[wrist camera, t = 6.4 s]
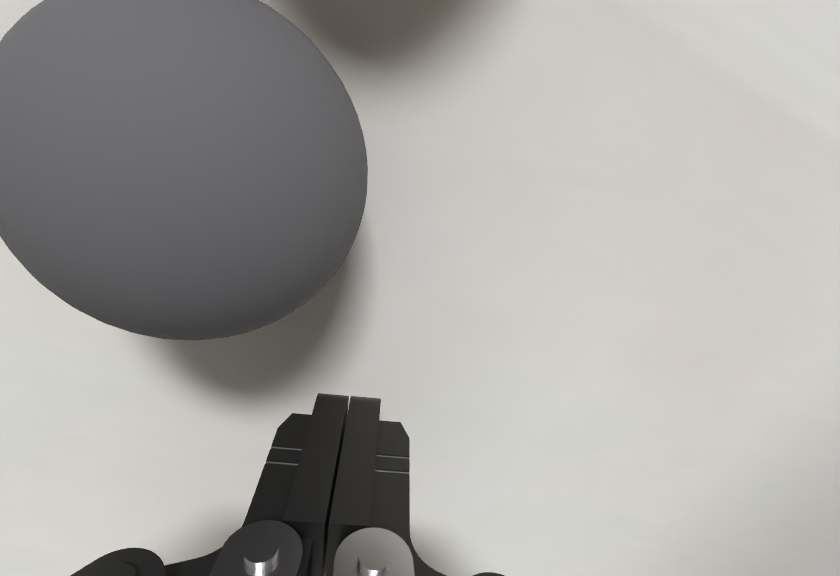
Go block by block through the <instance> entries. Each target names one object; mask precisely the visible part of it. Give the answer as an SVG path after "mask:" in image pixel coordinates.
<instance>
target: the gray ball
mask: <svg viewBox="0 0 840 576" xmlns="http://www.w3.org/2000/svg"><path fill="white" fill-rule="evenodd" d="M367 170H368V167H367V155H366V148H365V142H364V137H363V132H362V129H361V126H360V122H359V119H358V115H357V113H356V111H355V108H354V106H353V103H352V101H351V98H350V96H349V94H348V92H347V91H346V89H345V87H344V85H343V83H342V81H341V80H340V78H339V77H338V75H337V73H336V72H335V70H334V69H333V67H332V66H331V65H330V63H329V62H328V61H327V59H326V58H325V57H324V56H323V54H322V53H321V52H320V51H319V49H318V48H317V47H316V46H315V45H314V43H313V42H312V41H311V40H310V39H309V38H308V37H307V36H305V35H304V34H303V33H302V32H301V31H300V30H299V29H298V28H297V27H296V26H294V25H293V24H292V23H291V22H289V21H288V20H287V19H286V18H284V17H283V16H282V15H280V14H279V13H278V12H276V11H275V10H274V9H272V8H271V7H269V6H267V5H266V4H264V3H262V2H260V1H258V0H44V1H42V2H41V3H39V4H38V5H36V6H35V7H34V8H32V9H31V10H30V11H29V12H27V13H26V14H25V15H24V16H23V17H22V18H21V19H20V20H19V21H18V22H17V23H16V24H15V25H14V26H13V27H12V28H11V29H10V30H9V31H8V32H7V33H6V34H5V35H4V37H3V38H2V40H1V42H0V236H1V238H2V239H3V241H4V242H5V244H6V245H7V247H8V248H9V249H10V251H11V252H12V253H13V254H14V255H15V257H16V258H17V259H18V260H19V261H20V262H21V263H22V265H23V266H24V267H25V268H26V269H27V270H28V271H29V272H30V273H31V274H32V276H33V277H34V278H36V279H37V280H38V281H39V282H40V283H41V284H42V285H43V286H45V287H46V288H47V289H48V290H50V291H51V292H53V293H54V294H55V295H57V296H58V297H59V298H61V299H62V300H64V301H65V302H66V303H68V304H69V305H71V306H72V307H74V308H76V309H78V310H79V311H81V312H83V313H85V314H87V315H89V316H91V317H93V318H95V319H97V320H99V321H101V322H104V323H106V324H109V325H112V326H115V327H118V328H121V329H123V330H126V331H129V332H133V333H137V334H141V335H147V336H152V337H157V338H163V339H179V340H203V339H214V338H222V337H229V336H233V335H237V334H241V333H245V332H249V331H251V330H254V329H257V328H259V327H262V326H264V325H267V324H270V323H272V322H275V321H277V320H278V319H280V318H282V317H284V316H285V315H287V314H289V313H290V312H292V311H294V310H295V309H297V308H298V307H300V306H301V305H303V304H304V303H305V302H306V301H308V300H309V299H310V298H311V297H312V296H314V295H315V294H316V293H317V292H318V291H319V290H320V289H321V288H322V287H323V286H324V285H325V284H326V283H327V282H328V280H329V279H330V278H331V277H332V276H333V275H334V273H335V272H336V271H337V269H338V268H339V266H340V265H341V263H342V262H343V260H344V259H345V257H346V255H347V253H348V252H349V250H350V248H351V246H352V244H353V241H354V239H355V237H356V235H357V232H358V229H359V226H360V222H361V219H362V215H363V212H364V208H365V201H366V194H367Z"/></svg>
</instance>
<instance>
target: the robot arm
mask: <svg viewBox="0 0 840 576" xmlns="http://www.w3.org/2000/svg"><path fill="white" fill-rule="evenodd" d="M348 401H349V396H343V395H331V394H320V393H318V395H317V398H316V402H315V405H314V409H313V413H312V415H307V414H295V413H292V414H291V415H290V416H289V417H288V418H287V419H286V420H285V421H284V422H283V423H282V424H281V425H280V426H279V427H278V429H277V432H276V435H275V437H274V440H273V443H272V447H271V449H270V451H269V454H268V457H267V460H266V464H265V465H264V468H263V471H262V474H261V477H260V479H259V482H258V485H257V488H256V491H255V493H254V496H253V499H252V502H251V505H250V507H249V510H248V513H247V516H246V519H245V521H244V523H243V526H242V527H241V528H240V529H239V530H237V531H236V532H234V533H233V534H232V535H231V536H230V537H229V538H228V540H227V541H226V542H225V544H224V545H223V547H222V548H220V549H218V550H216V551H215V552H213V553H210V554H208V555H206V556H203V557H199V558H196V559H192V560H187V561H183V562H178V563H174V564H170V565H165V566H164V564H163V562H162V560H161V559H160V557H159V556H158V555H156V554H155V553H153V552H152V551H150V550H146V549H142V548H127V549H121V550H117V551H114V552H111V553H109V554H106V555H104V556H102V557H100V558H98V559H97V560H95V561H93V562H92V563H90V564H88V565H87V566H85V567H84V568H82V569H80V570H79V571H77V572H76V573H74V574H72V575H71V576H446V575H443V574H441V573H439V572H437V571H435V570H433V569H432V568H430V567H429V566H428V565H427V564H425V563H424V562H423V561H422V560H421V558H420V557H419V556H418V555H417V553H416V552H415V550H414V548H413V545H412V543H411V539H410V523H409V437H408V435H407V433H406V431H405V430H404V428H403V426H402V424H401V422H390V421H379V414H380V402H381V399H378V398H367V397H355V396H351V398H350V404H349V410H348ZM347 414H348V415H347ZM325 571H326V572H325ZM473 576H504V575H501V574H497V573H489V572H485V573H479V574H476V575H473Z"/></svg>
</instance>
